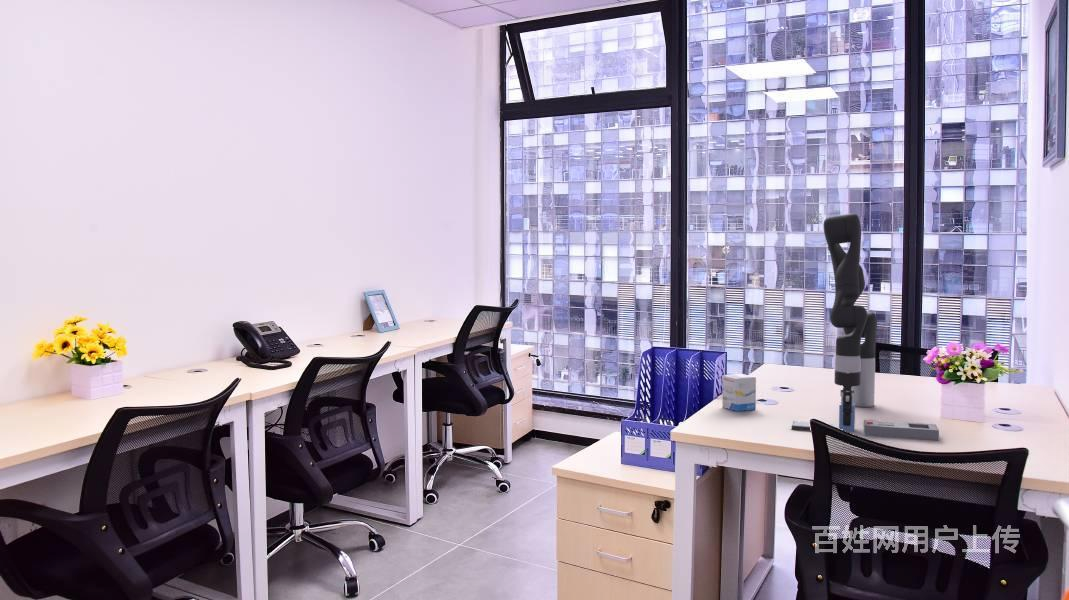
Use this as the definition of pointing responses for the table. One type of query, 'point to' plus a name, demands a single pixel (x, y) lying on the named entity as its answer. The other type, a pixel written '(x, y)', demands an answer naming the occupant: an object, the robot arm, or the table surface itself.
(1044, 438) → the table surface
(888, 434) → the power strip
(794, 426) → the phone slab
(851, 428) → the block
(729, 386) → the ink box
